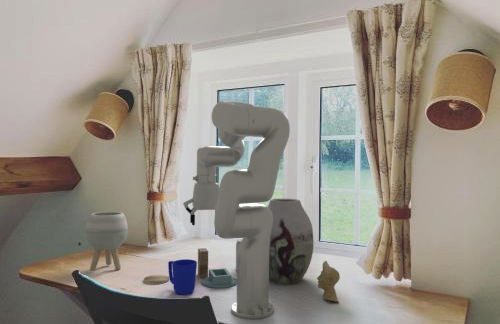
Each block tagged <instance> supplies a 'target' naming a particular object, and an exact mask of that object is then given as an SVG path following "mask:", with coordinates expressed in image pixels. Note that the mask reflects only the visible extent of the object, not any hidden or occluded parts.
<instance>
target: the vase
mask: <svg viewBox="0 0 500 324" xmlns="http://www.w3.org/2000/svg"><path fill="white" fill-rule="evenodd" d="M267 207H268V208H269V209H270V210H271V212H272V214H273V226H272V231H271V236H270V246H269V282H271V283H274V284H277V285H294V284H297V283H299V282H301V281H302V280H303V278H304V277H305V275H306V274H307V272H308V269H309V268H310V267H309V266H310V265H311V262H312V260H313V259H312V258H313V252H314V231H313V225H312V221H311V219H310V217H309V215H308V214H307V212H306V210H305V209H304V207H303V205H302V203H301V200H300V199H296V198H271V199H270V200H269V203H268V205H267Z"/></svg>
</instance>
